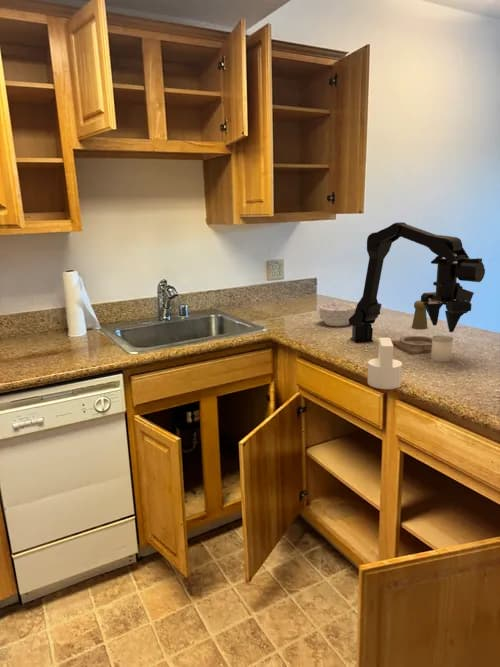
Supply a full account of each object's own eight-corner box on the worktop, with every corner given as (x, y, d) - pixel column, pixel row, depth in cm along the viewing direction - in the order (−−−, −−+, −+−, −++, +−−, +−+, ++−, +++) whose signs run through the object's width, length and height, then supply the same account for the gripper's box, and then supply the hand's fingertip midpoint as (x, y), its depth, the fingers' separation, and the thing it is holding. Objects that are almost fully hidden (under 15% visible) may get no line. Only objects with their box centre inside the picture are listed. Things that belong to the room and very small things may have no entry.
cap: (437, 362, 148) (439, 340, 147) (427, 357, 154) (428, 336, 152) (455, 361, 149) (457, 339, 148) (444, 355, 155) (445, 334, 153)
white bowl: (340, 330, 193) (340, 310, 191) (312, 324, 204) (312, 306, 202) (362, 323, 202) (363, 305, 200) (334, 318, 213) (334, 301, 211)
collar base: (409, 354, 157) (410, 347, 157) (390, 343, 171) (390, 336, 170) (448, 351, 160) (449, 344, 159) (426, 340, 173) (426, 334, 172)
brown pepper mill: (428, 329, 189) (430, 302, 186) (412, 329, 190) (414, 302, 187) (426, 326, 195) (427, 299, 192) (410, 325, 196) (412, 299, 193)
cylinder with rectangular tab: (403, 389, 127) (405, 346, 124) (368, 388, 128) (369, 345, 126) (399, 378, 135) (400, 337, 133) (366, 377, 137) (367, 337, 134)
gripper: (490, 281, 138) (485, 333, 142) (452, 274, 156) (449, 320, 160) (455, 283, 136) (451, 336, 140) (421, 275, 154) (418, 322, 158)
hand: (442, 328), depth 149 cm, fingers open, 9 cm apart
